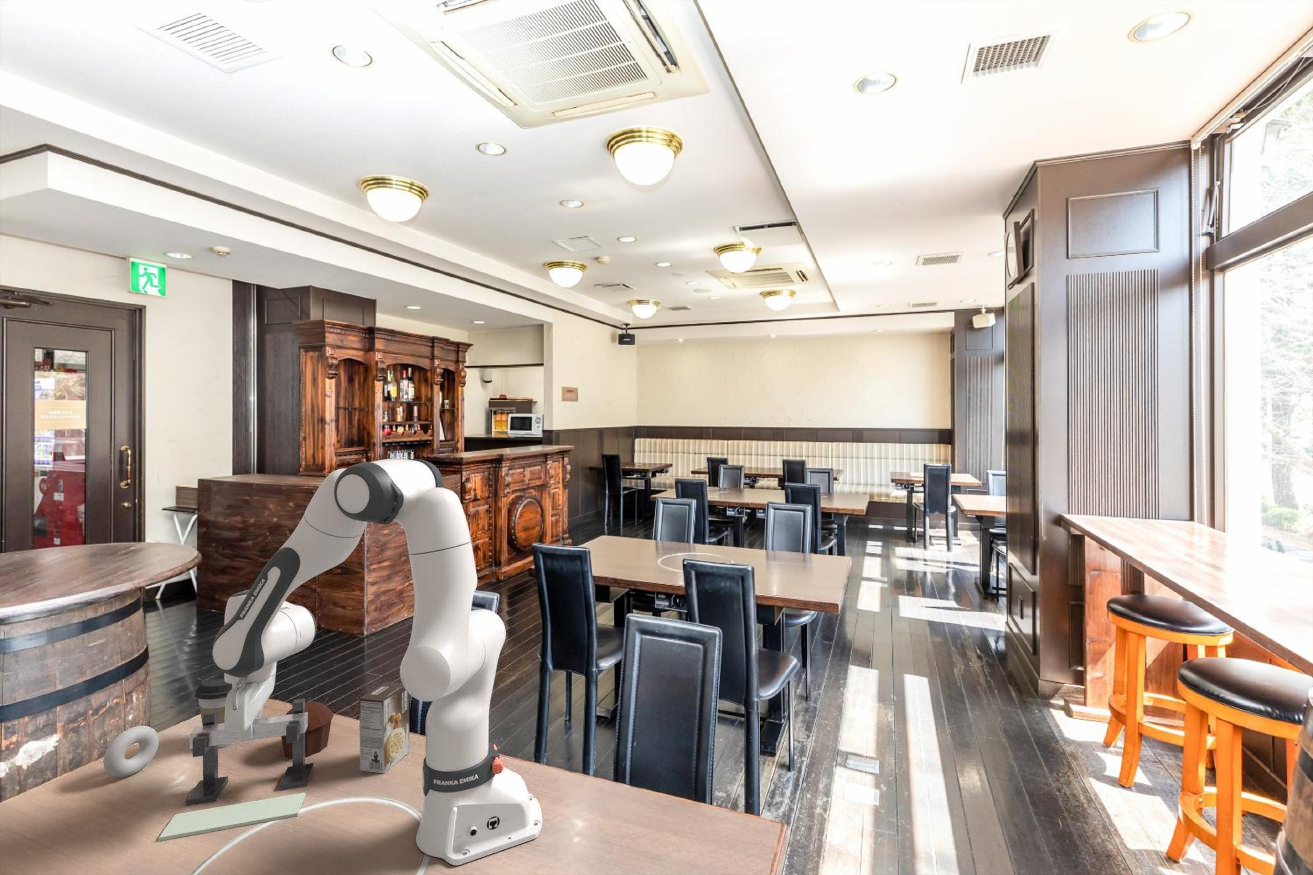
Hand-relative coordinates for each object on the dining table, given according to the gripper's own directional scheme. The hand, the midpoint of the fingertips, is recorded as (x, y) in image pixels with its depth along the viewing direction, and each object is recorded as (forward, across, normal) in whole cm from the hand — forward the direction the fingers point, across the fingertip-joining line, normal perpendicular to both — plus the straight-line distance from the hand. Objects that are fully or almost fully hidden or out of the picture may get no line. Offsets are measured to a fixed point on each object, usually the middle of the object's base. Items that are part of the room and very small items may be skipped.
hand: (251, 734), depth 124 cm
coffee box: (+12, +3, -25) cm, 28 cm away
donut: (+12, +15, +26) cm, 32 cm away
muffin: (+12, +15, -7) cm, 20 cm away
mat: (+12, -9, 0) cm, 15 cm away
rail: (+1, 0, 0) cm, 1 cm away
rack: (+12, 0, 0) cm, 12 cm away
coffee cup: (+12, +25, +12) cm, 30 cm away
